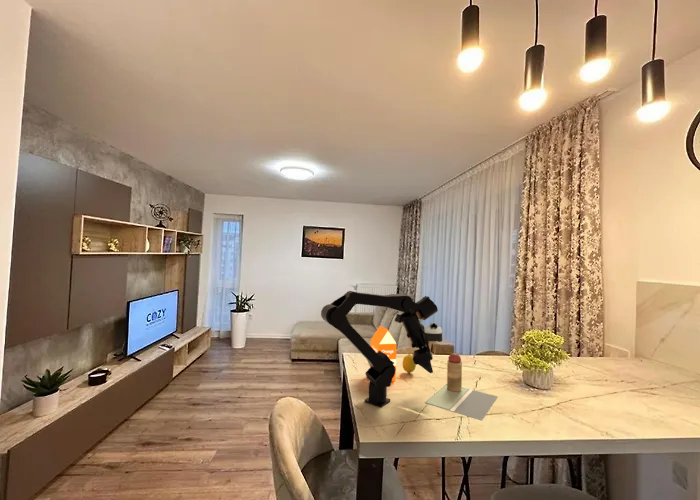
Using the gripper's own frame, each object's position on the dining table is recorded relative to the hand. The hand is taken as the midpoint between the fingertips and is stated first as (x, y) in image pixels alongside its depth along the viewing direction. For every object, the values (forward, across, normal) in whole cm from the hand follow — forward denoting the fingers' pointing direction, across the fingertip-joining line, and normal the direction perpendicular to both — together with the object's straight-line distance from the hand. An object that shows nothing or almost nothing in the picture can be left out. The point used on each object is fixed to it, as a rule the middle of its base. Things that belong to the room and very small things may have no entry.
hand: (430, 364), depth 113 cm
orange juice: (+5, +8, +22) cm, 24 cm away
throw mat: (+13, -6, -6) cm, 15 cm away
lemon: (+11, +16, +13) cm, 24 cm away
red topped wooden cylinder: (+14, +3, -4) cm, 14 cm away
